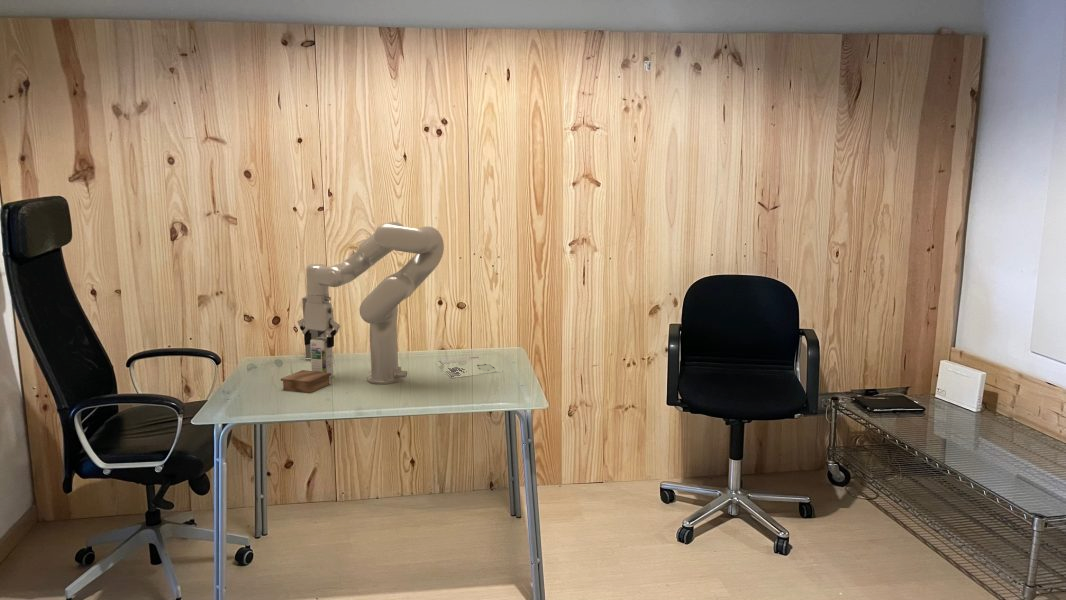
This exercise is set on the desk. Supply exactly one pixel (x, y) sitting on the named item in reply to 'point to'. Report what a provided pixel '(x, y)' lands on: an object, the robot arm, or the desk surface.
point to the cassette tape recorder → (312, 332)
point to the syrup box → (321, 356)
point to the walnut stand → (306, 381)
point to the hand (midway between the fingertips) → (319, 345)
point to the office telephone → (456, 367)
